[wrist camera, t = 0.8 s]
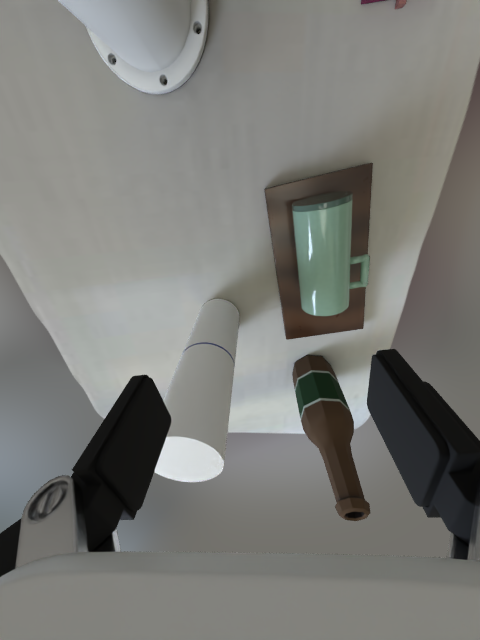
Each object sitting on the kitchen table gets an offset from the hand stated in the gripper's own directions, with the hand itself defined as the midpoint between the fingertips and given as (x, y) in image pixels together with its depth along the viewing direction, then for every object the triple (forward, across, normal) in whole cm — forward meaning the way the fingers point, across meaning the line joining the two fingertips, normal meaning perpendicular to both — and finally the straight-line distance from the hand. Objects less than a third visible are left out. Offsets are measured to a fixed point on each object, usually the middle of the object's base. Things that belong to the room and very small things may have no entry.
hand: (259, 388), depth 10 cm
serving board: (+29, -9, +5) cm, 31 cm away
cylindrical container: (+29, +8, +12) cm, 32 cm away
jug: (+24, -10, +9) cm, 27 cm away
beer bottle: (+29, -7, +26) cm, 40 cm away
